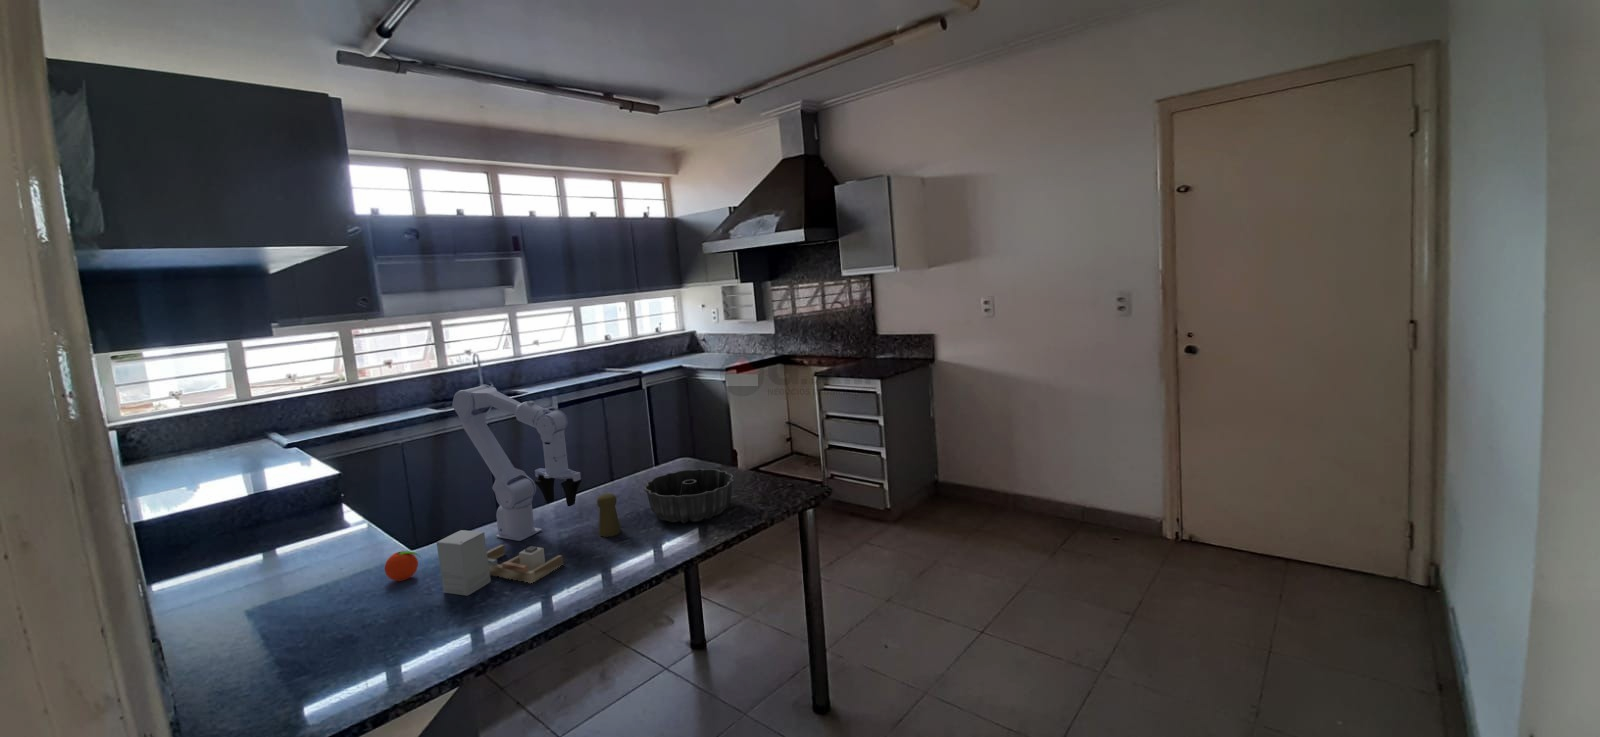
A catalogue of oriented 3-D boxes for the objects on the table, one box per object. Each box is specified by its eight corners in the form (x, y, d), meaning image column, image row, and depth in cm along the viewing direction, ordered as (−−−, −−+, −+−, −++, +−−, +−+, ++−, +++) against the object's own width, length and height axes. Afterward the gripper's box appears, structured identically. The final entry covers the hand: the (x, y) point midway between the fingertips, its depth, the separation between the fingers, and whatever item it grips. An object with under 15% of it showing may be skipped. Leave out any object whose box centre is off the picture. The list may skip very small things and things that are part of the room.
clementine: (427, 570, 162) (423, 543, 161) (420, 582, 155) (416, 554, 154) (391, 575, 160) (387, 548, 159) (382, 588, 153) (378, 560, 152)
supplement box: (492, 581, 154) (485, 531, 152) (467, 596, 147) (460, 544, 145) (468, 578, 156) (461, 528, 154) (442, 593, 149) (435, 541, 148)
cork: (617, 536, 177) (613, 498, 176) (595, 537, 178) (591, 499, 176) (623, 527, 183) (620, 490, 182) (602, 528, 184) (599, 491, 182)
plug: (521, 571, 159) (518, 550, 158) (533, 564, 162) (531, 543, 161) (533, 574, 157) (530, 552, 156) (545, 567, 161) (543, 545, 160)
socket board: (468, 570, 160) (466, 556, 160) (502, 553, 170) (500, 540, 169) (531, 583, 152) (529, 568, 151) (563, 565, 161) (561, 551, 161)
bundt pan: (643, 505, 202) (640, 474, 200) (726, 492, 209) (724, 463, 208) (650, 536, 177) (647, 501, 175) (744, 521, 184) (742, 488, 183)
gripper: (524, 457, 174) (529, 505, 176) (565, 461, 168) (570, 511, 170) (544, 450, 180) (549, 497, 182) (584, 454, 175) (589, 502, 177)
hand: (560, 503), depth 177 cm, fingers open, 7 cm apart
